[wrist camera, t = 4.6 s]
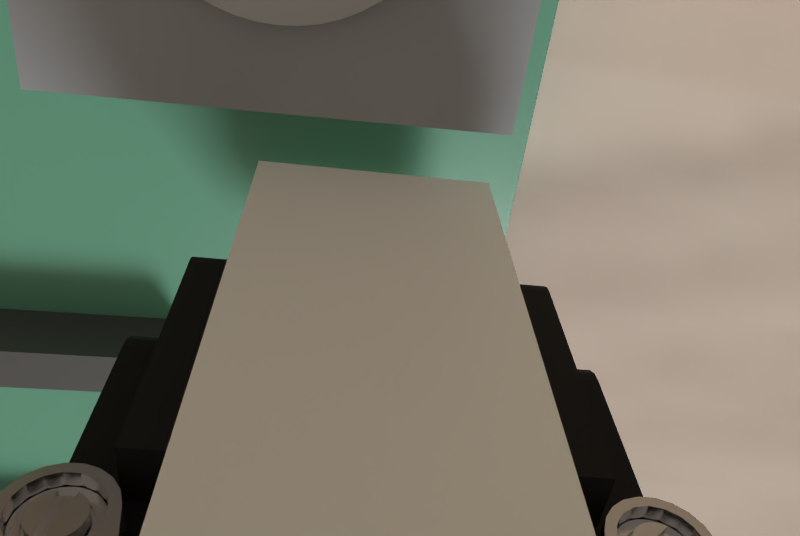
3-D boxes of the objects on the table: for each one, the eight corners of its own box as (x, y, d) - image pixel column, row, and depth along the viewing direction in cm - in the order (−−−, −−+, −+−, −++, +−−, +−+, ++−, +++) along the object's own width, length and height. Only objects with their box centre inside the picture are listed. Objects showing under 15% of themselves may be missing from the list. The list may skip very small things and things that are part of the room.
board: (631, -423, 12) (746, -514, 8) (423, 554, 24) (435, 676, 21) (-514, -634, 10) (-960, -861, 7) (-99, 539, 22) (-179, 670, 19)
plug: (488, 183, 13) (620, 617, 6) (452, 360, 15) (520, 832, 8) (258, 160, 13) (120, 594, 6) (254, 344, 15) (149, 826, 8)
